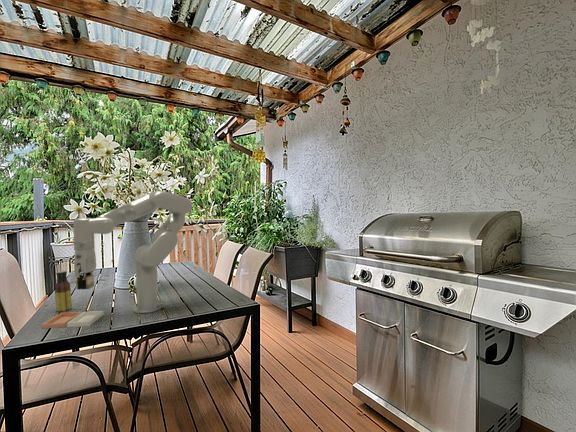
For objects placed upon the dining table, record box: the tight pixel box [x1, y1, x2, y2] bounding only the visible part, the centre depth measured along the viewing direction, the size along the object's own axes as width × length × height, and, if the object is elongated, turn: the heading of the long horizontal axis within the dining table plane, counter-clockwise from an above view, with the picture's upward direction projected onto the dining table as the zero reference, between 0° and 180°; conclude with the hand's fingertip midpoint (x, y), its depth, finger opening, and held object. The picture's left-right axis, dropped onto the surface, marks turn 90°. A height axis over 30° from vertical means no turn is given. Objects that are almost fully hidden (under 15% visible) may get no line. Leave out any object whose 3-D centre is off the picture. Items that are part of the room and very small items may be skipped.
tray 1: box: [41, 311, 83, 329], centre depth 138 cm, size 8×14×2 cm, turn 8°
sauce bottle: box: [54, 270, 73, 313], centre depth 152 cm, size 7×6×20 cm
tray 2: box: [66, 310, 105, 328], centre depth 139 cm, size 8×14×2 cm, turn 8°
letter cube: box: [75, 274, 95, 291], centre depth 138 cm, size 5×5×5 cm
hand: (85, 287), depth 138 cm, fingers closed on letter cube, 5 cm apart
